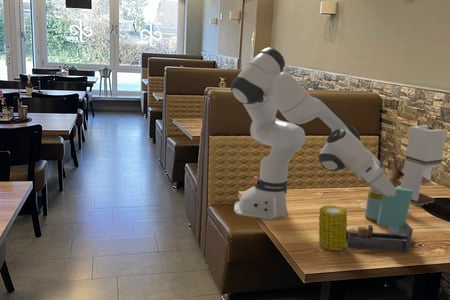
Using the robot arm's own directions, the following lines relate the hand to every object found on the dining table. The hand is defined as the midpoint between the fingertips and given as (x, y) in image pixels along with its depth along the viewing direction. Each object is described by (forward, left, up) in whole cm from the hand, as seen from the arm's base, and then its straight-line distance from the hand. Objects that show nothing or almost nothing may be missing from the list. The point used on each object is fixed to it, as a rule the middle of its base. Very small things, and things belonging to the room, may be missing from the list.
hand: (392, 192), depth 150 cm
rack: (-3, 0, -20) cm, 21 cm away
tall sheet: (+1, 0, -12) cm, 12 cm away
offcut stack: (-9, 0, -20) cm, 22 cm away
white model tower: (+30, +52, -21) cm, 63 cm away
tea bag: (+7, +10, -21) cm, 24 cm away
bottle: (+3, +26, -21) cm, 33 cm away
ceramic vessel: (+12, +44, -21) cm, 50 cm away
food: (-20, -3, -21) cm, 29 cm away
